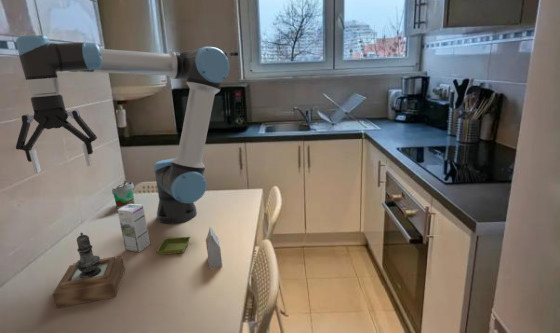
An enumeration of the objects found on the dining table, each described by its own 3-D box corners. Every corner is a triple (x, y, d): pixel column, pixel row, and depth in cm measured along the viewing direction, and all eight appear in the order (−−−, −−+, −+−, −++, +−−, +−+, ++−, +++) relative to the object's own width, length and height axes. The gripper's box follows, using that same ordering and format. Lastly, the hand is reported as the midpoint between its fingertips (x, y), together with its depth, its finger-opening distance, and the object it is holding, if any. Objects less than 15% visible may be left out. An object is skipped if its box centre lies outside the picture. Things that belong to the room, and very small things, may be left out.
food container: (130, 211, 151) (126, 188, 148) (115, 211, 151) (111, 189, 148) (141, 200, 163) (138, 179, 160) (128, 201, 163) (124, 180, 160)
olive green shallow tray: (157, 257, 112) (156, 251, 112) (165, 243, 121) (164, 238, 120) (185, 255, 112) (184, 249, 112) (191, 242, 121) (190, 236, 120)
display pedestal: (124, 268, 106) (121, 253, 104) (115, 296, 93) (112, 279, 91) (73, 277, 103) (69, 261, 101) (56, 307, 89) (51, 289, 88)
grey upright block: (220, 255, 110) (216, 225, 108) (222, 266, 104) (218, 235, 101) (208, 257, 109) (204, 227, 107) (209, 268, 103) (205, 237, 100)
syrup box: (150, 244, 120) (144, 203, 116) (138, 252, 115) (131, 210, 111) (137, 242, 122) (129, 202, 118) (124, 250, 117) (116, 209, 113)
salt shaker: (92, 279, 93) (83, 238, 90) (73, 278, 94) (62, 237, 91) (107, 267, 99) (98, 227, 95) (88, 266, 100) (79, 227, 97)
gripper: (97, 90, 106) (112, 159, 112) (-1, 98, 99) (20, 171, 105) (92, 91, 99) (108, 165, 105) (-13, 100, 92) (10, 178, 98)
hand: (64, 168), depth 105 cm, fingers open, 13 cm apart
